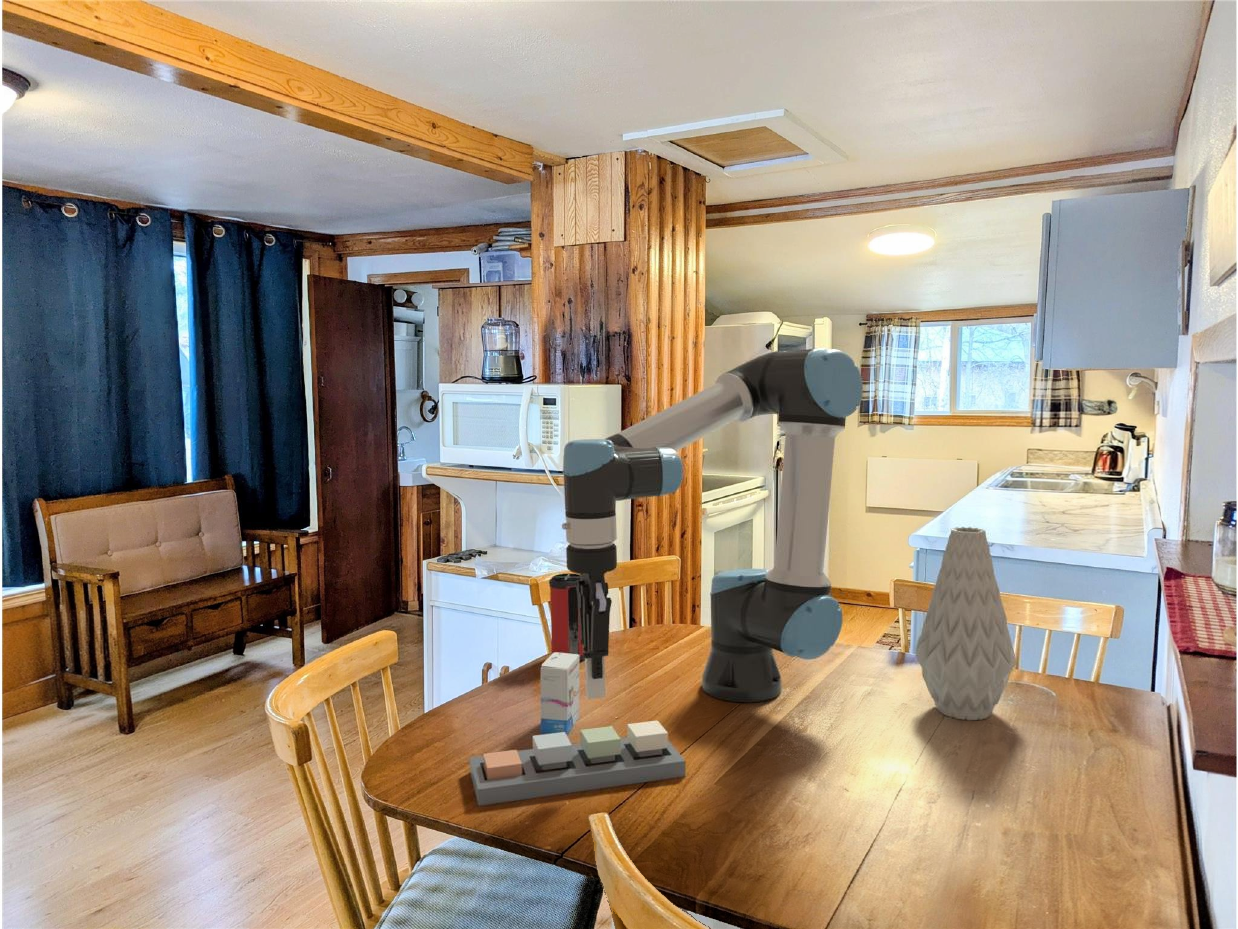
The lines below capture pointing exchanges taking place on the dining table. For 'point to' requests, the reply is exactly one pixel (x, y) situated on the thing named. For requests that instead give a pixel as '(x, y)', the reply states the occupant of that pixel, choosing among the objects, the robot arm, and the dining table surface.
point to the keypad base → (574, 774)
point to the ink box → (559, 693)
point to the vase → (966, 631)
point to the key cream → (647, 738)
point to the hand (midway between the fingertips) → (595, 696)
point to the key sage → (601, 744)
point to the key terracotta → (502, 764)
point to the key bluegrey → (552, 750)
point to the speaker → (565, 615)
